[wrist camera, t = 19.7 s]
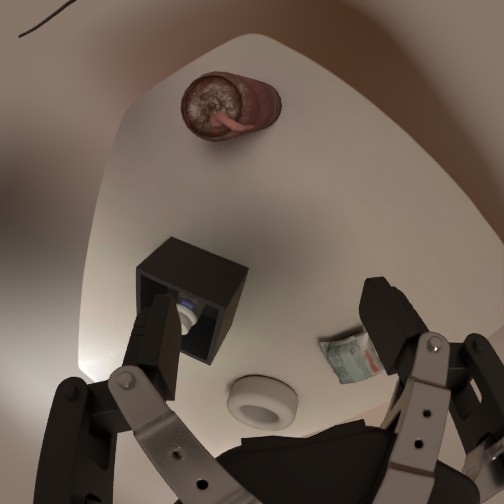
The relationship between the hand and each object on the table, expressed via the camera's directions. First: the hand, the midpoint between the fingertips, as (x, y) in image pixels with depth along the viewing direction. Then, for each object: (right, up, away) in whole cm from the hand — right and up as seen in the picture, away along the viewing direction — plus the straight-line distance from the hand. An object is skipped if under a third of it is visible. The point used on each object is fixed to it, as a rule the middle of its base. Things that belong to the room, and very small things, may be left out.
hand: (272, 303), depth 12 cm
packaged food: (+17, -15, +34) cm, 41 cm away
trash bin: (-9, -3, +37) cm, 38 cm away
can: (0, +20, +20) cm, 29 cm away
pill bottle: (-10, -4, +36) cm, 37 cm away
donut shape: (+2, -29, +48) cm, 56 cm away
